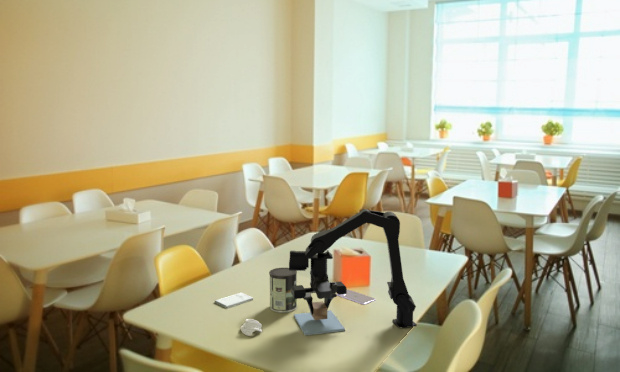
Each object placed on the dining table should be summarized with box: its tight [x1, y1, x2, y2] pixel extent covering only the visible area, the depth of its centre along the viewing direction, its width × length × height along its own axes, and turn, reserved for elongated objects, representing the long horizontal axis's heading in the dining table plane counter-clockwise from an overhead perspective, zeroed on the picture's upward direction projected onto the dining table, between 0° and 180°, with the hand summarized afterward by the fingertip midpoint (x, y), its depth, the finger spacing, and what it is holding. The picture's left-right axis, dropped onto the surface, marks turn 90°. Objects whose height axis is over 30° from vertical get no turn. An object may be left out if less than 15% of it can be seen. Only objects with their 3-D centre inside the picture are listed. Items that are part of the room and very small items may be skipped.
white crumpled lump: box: [240, 318, 263, 337], centre depth 175 cm, size 8×7×5 cm
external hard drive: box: [214, 292, 254, 309], centre depth 202 cm, size 2×8×12 cm
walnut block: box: [309, 300, 328, 320], centre depth 181 cm, size 4×6×4 cm
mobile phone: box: [336, 289, 376, 306], centre depth 206 cm, size 8×1×15 cm
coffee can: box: [268, 267, 298, 314], centre depth 195 cm, size 10×10×14 cm
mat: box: [293, 310, 346, 336], centre depth 182 cm, size 16×14×1 cm
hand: (318, 313), depth 181 cm, fingers closed on walnut block, 4 cm apart
